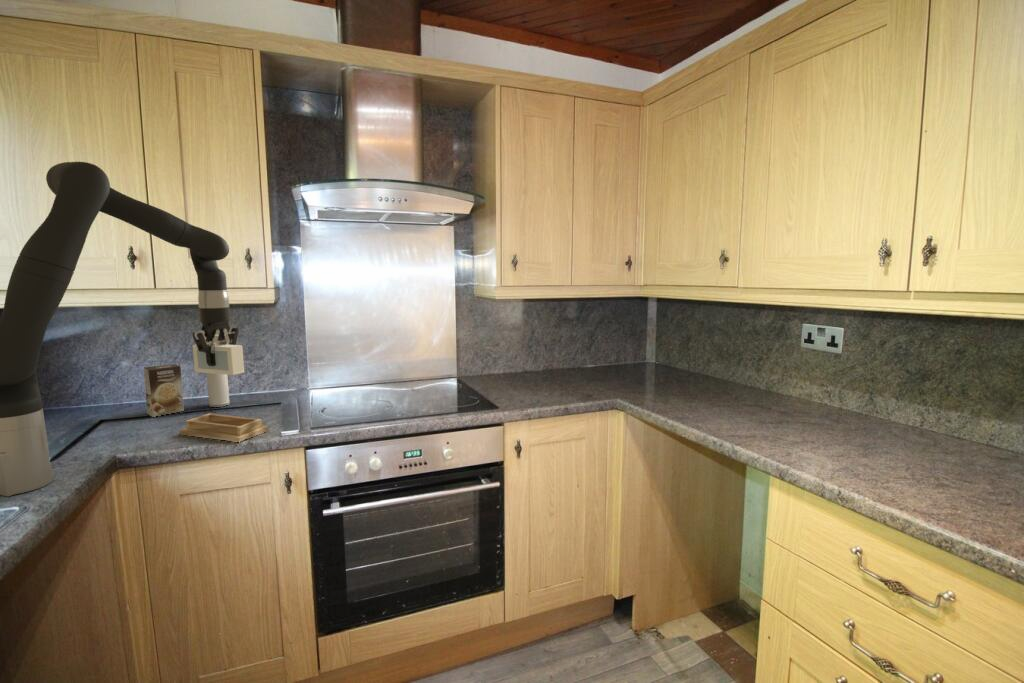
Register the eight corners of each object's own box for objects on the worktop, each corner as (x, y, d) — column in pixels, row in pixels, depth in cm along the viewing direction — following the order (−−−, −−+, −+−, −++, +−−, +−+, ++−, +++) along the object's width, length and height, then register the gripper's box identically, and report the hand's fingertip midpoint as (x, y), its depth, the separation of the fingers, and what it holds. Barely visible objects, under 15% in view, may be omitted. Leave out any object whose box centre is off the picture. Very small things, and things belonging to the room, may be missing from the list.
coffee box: (153, 418, 160) (148, 370, 158) (147, 414, 164) (142, 367, 162) (185, 411, 167) (180, 365, 165) (178, 408, 171) (174, 363, 169)
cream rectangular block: (232, 375, 139) (230, 347, 138) (194, 371, 143) (192, 345, 142) (244, 372, 143) (242, 345, 142) (207, 369, 147) (204, 343, 146)
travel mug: (234, 403, 178) (229, 349, 175) (221, 408, 172) (217, 352, 169) (218, 402, 179) (213, 348, 176) (205, 407, 172) (200, 351, 169)
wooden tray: (239, 443, 138) (238, 429, 137) (179, 435, 144) (178, 422, 143) (268, 431, 148) (267, 418, 148) (212, 424, 154) (211, 411, 154)
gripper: (202, 308, 133) (207, 369, 135) (244, 304, 146) (248, 360, 149) (181, 307, 135) (186, 368, 137) (224, 304, 148) (229, 359, 151)
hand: (219, 364), depth 143 cm, fingers closed on cream rectangular block, 4 cm apart
